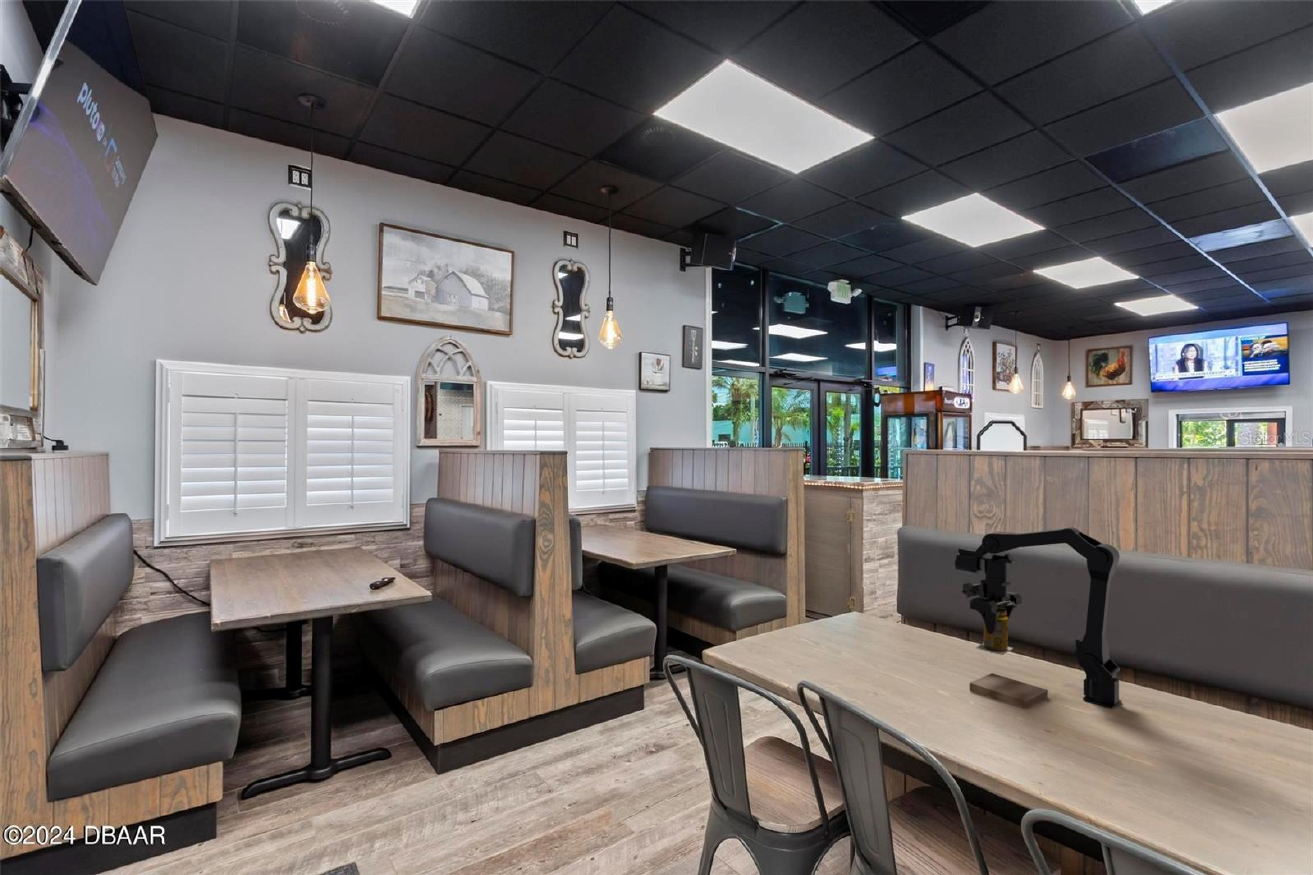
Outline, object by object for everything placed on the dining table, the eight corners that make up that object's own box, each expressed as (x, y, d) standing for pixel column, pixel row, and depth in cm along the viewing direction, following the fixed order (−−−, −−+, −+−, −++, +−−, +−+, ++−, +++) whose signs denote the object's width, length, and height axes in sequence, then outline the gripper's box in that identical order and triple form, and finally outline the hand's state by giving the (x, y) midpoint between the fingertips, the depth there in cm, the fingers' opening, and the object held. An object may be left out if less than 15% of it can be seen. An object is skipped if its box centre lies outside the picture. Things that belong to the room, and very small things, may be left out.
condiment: (1013, 648, 176) (1013, 606, 176) (1003, 655, 170) (1003, 612, 170) (985, 642, 181) (985, 601, 181) (974, 649, 175) (974, 606, 175)
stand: (1047, 697, 159) (1047, 689, 159) (1026, 709, 152) (1026, 701, 152) (992, 680, 171) (992, 673, 171) (969, 690, 164) (969, 682, 164)
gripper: (983, 568, 188) (983, 619, 188) (950, 575, 177) (950, 630, 177) (1022, 574, 179) (1022, 628, 179) (990, 582, 168) (990, 640, 168)
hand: (995, 631), depth 176 cm, fingers closed on condiment, 6 cm apart
